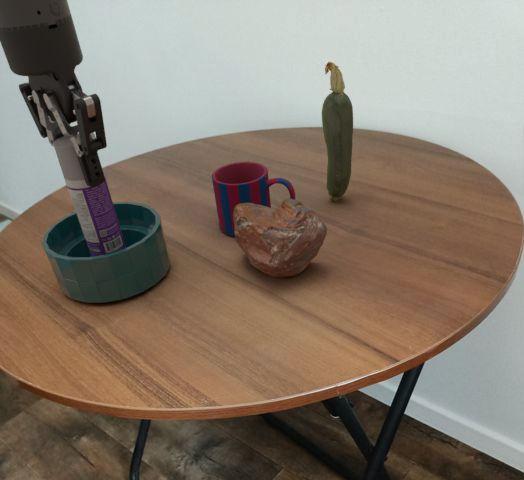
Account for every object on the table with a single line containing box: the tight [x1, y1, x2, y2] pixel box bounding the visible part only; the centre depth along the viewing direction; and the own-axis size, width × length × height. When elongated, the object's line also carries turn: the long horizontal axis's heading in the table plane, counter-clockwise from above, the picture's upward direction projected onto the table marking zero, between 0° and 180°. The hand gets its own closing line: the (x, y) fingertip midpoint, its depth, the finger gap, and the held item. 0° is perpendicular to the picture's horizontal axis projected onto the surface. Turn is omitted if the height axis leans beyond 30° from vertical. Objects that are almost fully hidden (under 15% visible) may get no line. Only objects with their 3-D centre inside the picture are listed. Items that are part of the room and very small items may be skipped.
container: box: [53, 132, 126, 257], centre depth 65 cm, size 5×5×15 cm
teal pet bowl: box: [41, 201, 171, 304], centre depth 70 cm, size 15×15×7 cm
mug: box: [211, 161, 296, 238], centre depth 76 cm, size 8×12×8 cm, turn 64°
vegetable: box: [321, 61, 354, 202], centre depth 76 cm, size 4×4×20 cm
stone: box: [233, 198, 328, 278], centre depth 65 cm, size 13×8×10 cm
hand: (84, 178), depth 63 cm, fingers closed on container, 4 cm apart
